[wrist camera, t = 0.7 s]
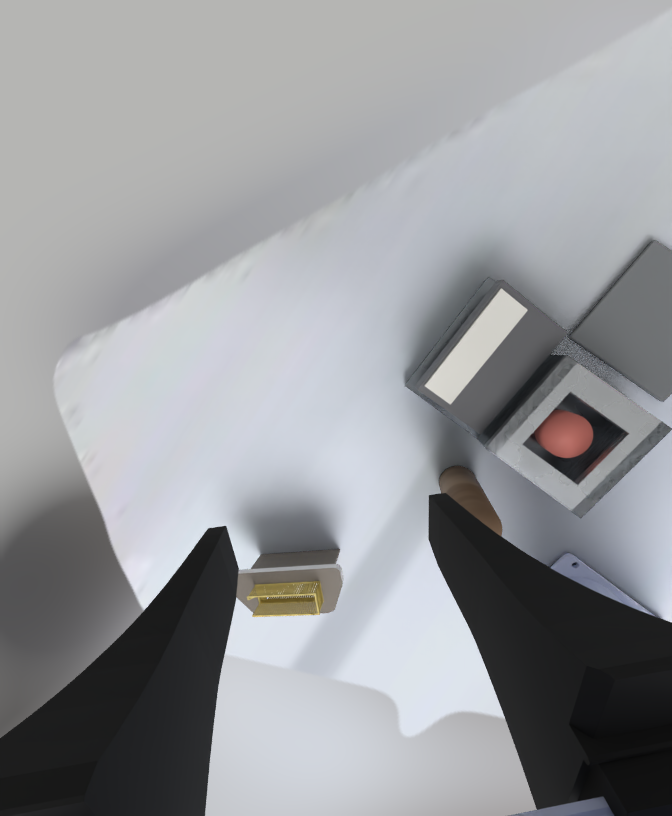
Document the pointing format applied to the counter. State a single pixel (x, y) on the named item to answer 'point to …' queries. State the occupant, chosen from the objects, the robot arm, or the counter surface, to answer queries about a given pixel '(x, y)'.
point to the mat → (636, 323)
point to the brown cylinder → (469, 495)
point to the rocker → (490, 357)
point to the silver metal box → (571, 391)
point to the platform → (291, 583)
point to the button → (564, 434)
